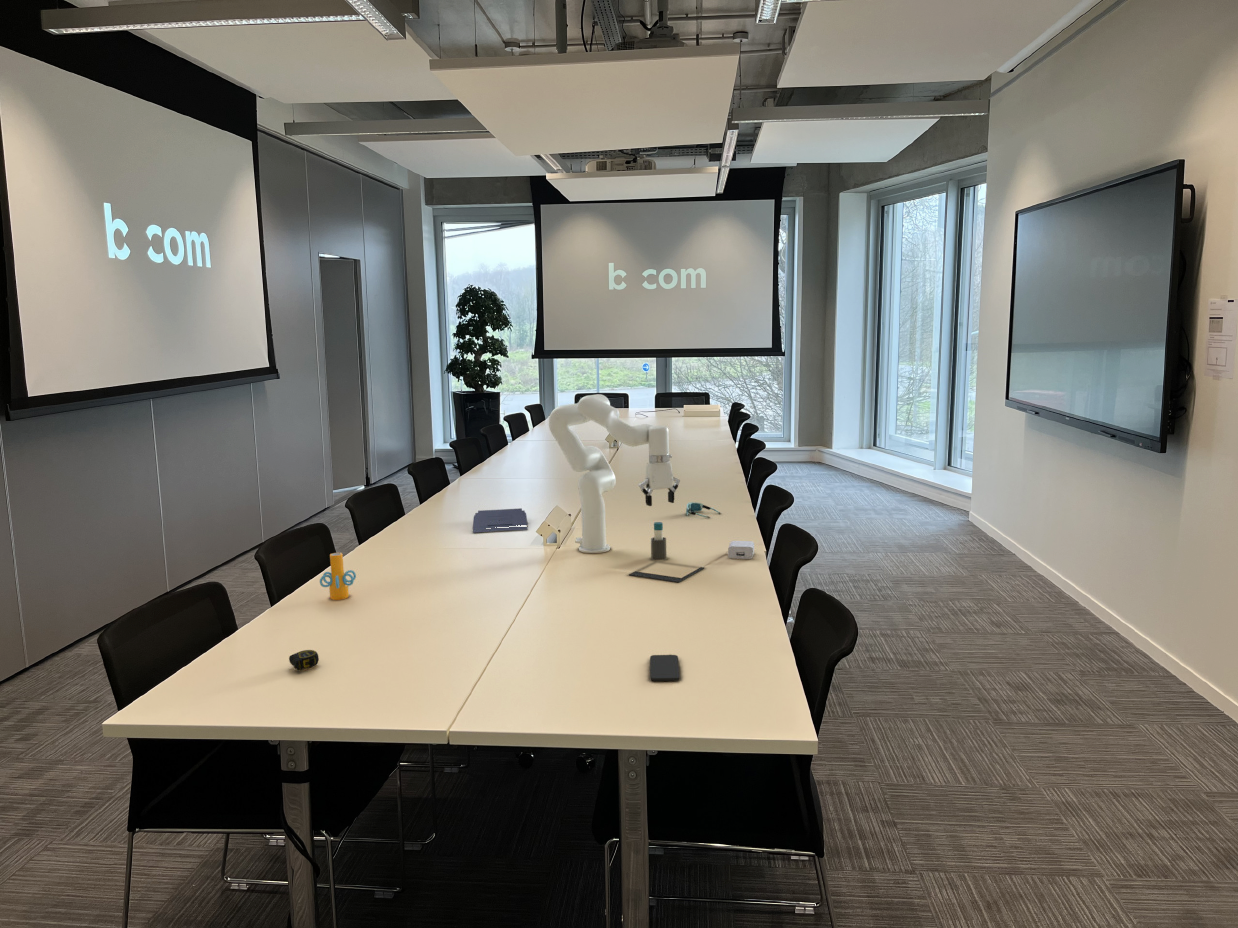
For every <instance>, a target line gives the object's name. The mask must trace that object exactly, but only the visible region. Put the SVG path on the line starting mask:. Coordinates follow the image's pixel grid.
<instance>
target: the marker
mask: <svg viewBox="0 0 1238 928" xmlns="http://www.w3.org/2000/svg"><path fill="white" fill-rule="evenodd" d="M663 525H664V524H663V522H661V521H656V522H653V537H654V540H663V537H664V535H663V533H664V530H663V529H664V528H663V527H664V526H663Z"/></svg>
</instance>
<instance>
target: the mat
mask: <svg viewBox="0 0 1238 928" xmlns="http://www.w3.org/2000/svg"><path fill="white" fill-rule="evenodd" d="M704 569H705V567H704V566H700V567H698V568H696V569H695V570H693V571H691V572H689V573H687V574H686V575H684V576H682V577H677V576H672V575H671V576H670V575H663V574H657V573H650V572H643V571H636V570H635V571H633V572H630V573H628V576H630V577H637V578H644V579H651V580H658V581H664V582H670V583H675V584H678V583H681V582H683V581H685V580H686V579H688V578H691V577H692V576H693V575H696V574H697V573H699V572H701V571H702V570H704Z"/></svg>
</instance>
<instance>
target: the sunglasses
mask: <svg viewBox="0 0 1238 928" xmlns="http://www.w3.org/2000/svg"><path fill="white" fill-rule="evenodd" d="M703 509H705V510H708V511H710V510H712V511H714V512H716V513H717V514H719V515H721V514H722V513H721V512H720V511H718V510H717V509H715V508H713V507H711V506H709V505H705V504H704V503H701V502H695V501H693V502H688V503H687V504H686V509H685V513H686V514H685V515H686V516H689V514H690V515H692V516H698V517H702V518H707V519H710V518H711V516H708V515H703V514H700V513H698V512H701V511H702V510H703Z"/></svg>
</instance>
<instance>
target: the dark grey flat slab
mask: <svg viewBox="0 0 1238 928" xmlns="http://www.w3.org/2000/svg"><path fill="white" fill-rule="evenodd" d="M516 525H517V526H518V525H520V526H521V525H528V517H527V512H526V511H525V510H523V508H522V507H521V508H506V509H505V508H504V509H503V508H501V509H484V510H478V511H477V512H475V514H474V515H473V521H472V533H473V534H474V533H483V532H484V533H486V532H488V533H489V532H501V531H502V532H503V531H524V530H528V527H529V525H528V526H527V527H509V526H516ZM495 527H496V528H495ZM497 527H509V528H497ZM486 528H491V529H486Z"/></svg>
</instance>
